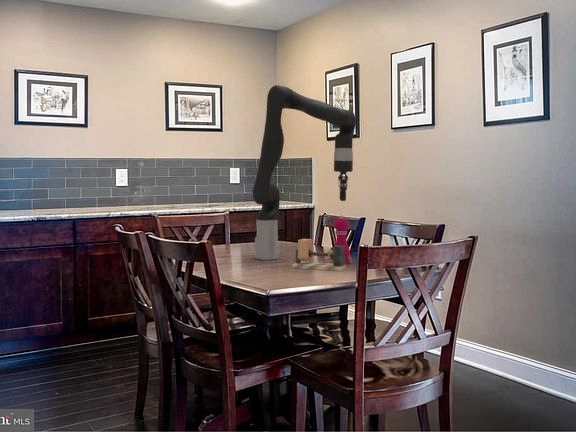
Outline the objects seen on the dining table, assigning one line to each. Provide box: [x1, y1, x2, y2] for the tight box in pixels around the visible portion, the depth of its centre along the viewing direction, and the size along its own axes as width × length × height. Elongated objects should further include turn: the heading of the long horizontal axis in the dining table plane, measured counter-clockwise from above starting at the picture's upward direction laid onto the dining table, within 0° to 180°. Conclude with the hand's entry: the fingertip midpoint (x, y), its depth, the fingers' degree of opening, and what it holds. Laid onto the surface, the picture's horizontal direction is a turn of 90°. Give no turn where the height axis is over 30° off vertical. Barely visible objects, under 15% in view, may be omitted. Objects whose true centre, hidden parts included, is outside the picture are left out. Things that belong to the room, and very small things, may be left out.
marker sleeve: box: [297, 238, 313, 261], centre depth 225 cm, size 4×5×8 cm
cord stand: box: [291, 245, 347, 272], centre depth 222 cm, size 20×7×9 cm, turn 62°
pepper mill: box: [333, 214, 351, 265], centre depth 234 cm, size 7×7×20 cm
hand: (342, 200), depth 229 cm, fingers open, 8 cm apart
